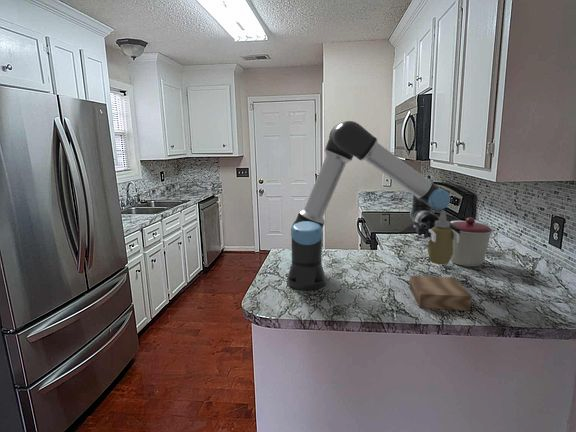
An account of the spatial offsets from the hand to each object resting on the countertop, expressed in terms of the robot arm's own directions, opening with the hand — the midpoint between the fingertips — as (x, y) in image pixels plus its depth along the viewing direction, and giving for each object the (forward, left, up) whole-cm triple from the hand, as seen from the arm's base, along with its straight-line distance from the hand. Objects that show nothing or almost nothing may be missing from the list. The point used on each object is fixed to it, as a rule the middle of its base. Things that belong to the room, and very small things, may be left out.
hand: (446, 238), depth 114 cm
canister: (+24, +44, -24) cm, 55 cm away
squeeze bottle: (0, +5, -10) cm, 11 cm away
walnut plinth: (+1, +5, -23) cm, 24 cm away
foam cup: (+29, +69, -24) cm, 78 cm away
